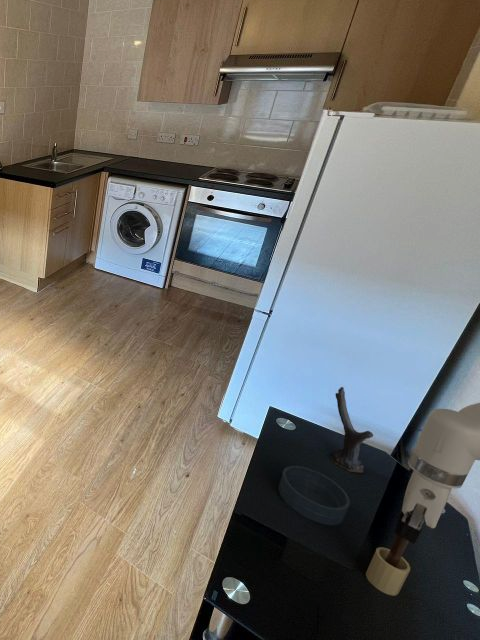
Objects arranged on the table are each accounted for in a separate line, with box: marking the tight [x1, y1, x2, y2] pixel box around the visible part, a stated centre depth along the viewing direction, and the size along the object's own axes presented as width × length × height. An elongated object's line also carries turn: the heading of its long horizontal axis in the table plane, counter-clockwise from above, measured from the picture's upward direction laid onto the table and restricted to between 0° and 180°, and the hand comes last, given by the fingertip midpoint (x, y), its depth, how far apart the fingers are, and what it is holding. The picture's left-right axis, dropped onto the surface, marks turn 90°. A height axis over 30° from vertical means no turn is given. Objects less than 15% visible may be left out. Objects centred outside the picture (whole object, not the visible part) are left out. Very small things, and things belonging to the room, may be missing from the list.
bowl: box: [277, 465, 351, 526], centre depth 112 cm, size 14×14×6 cm
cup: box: [365, 546, 411, 597], centre depth 91 cm, size 5×5×8 cm
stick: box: [385, 515, 411, 568], centre depth 89 cm, size 2×2×20 cm
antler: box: [330, 386, 374, 473], centre depth 124 cm, size 12×8×25 cm
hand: (405, 533), depth 88 cm, fingers closed on stick, 1 cm apart
